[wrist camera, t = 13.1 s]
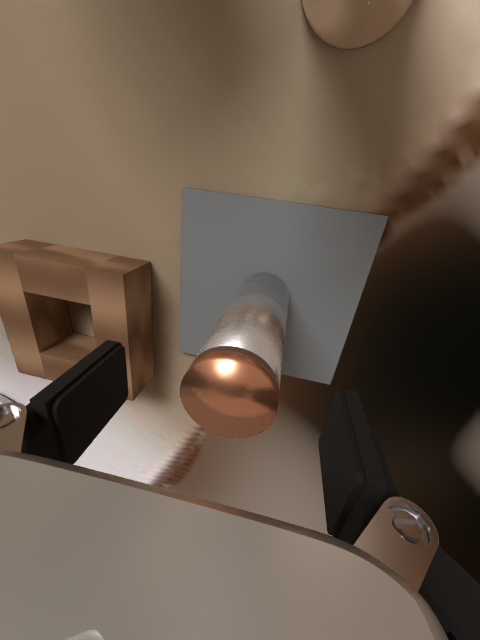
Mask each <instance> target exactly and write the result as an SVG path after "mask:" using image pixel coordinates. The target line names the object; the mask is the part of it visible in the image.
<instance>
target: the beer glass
mask: <svg viewBox="0 0 480 640" xmlns="http://www.w3.org/2000/svg"><path fill="white" fill-rule="evenodd" d="M413 1H414V0H302V5H303V9H304V13H305V16H306V18H307V20H308V22H309V24H310V26H311V28H312V29H313V31H314V32H315V33H316V35H317V36H318V37H319V38H320V39H321V40H323V41H324V42H326V43H327V44H329V45H331V46H334V47H337V48H342V49H354V48H359V47H362V46H365V45H368V44H370V43H372V42H374V41H376V40H377V39H379V38H380V37H382V36H383V35H385V34H386V33H387V32H388V31H389V30H390V29H392V28H393V27H394V26H395V25H396V24H397V23H398V22H399V20H400V19H401V18H402V17H403V16H404V14H405V13H406V12H407V10H408V9H409V7H410V6H411V4H412V2H413Z"/></svg>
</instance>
